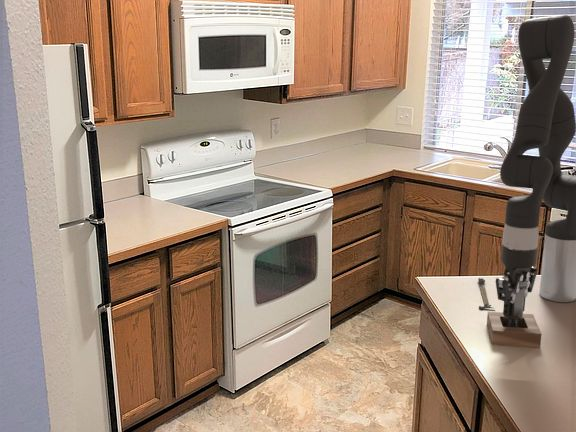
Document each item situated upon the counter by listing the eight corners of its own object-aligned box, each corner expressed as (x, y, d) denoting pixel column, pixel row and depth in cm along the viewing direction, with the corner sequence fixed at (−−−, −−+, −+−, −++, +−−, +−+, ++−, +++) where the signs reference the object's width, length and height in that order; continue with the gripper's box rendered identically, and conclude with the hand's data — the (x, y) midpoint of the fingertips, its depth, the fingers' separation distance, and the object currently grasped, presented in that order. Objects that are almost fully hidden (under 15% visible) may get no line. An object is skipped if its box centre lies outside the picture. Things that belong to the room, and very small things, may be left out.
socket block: (486, 324, 150) (487, 311, 149) (531, 327, 148) (533, 314, 147) (491, 344, 140) (493, 330, 139) (540, 347, 138) (541, 333, 137)
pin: (508, 321, 147) (513, 274, 143) (527, 328, 143) (532, 280, 140) (497, 327, 144) (501, 279, 141) (515, 334, 140) (520, 285, 137)
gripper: (522, 233, 145) (516, 300, 150) (486, 246, 136) (481, 317, 141) (552, 240, 139) (544, 310, 144) (517, 254, 131) (510, 328, 135)
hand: (513, 313), depth 142 cm, fingers closed on pin, 4 cm apart
